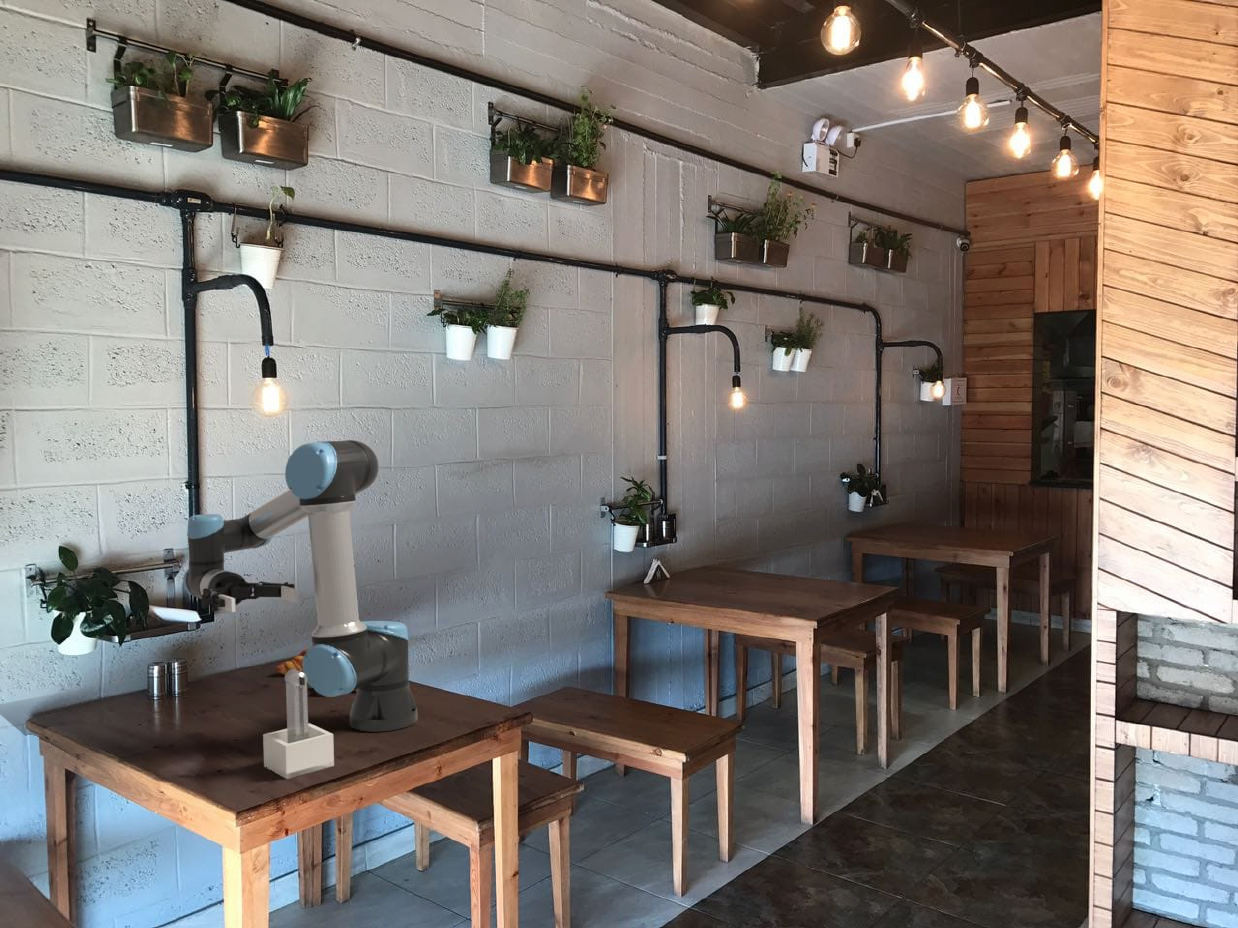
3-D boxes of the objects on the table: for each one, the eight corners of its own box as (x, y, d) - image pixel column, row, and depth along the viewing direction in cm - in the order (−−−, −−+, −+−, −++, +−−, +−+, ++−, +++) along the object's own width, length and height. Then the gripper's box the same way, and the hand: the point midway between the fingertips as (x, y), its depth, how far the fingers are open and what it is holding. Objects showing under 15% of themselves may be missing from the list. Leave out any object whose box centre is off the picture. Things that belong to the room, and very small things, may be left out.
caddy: (310, 753, 207) (309, 723, 207) (334, 765, 200) (333, 733, 200) (264, 766, 200) (263, 734, 200) (286, 778, 193) (285, 745, 193)
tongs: (301, 756, 203) (298, 667, 202) (312, 762, 199) (310, 672, 198) (287, 760, 201) (284, 670, 200) (298, 766, 197) (295, 675, 196)
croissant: (351, 676, 282) (347, 648, 285) (361, 666, 274) (356, 638, 277) (274, 686, 271) (270, 657, 273) (282, 676, 263) (278, 647, 266)
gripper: (278, 597, 232) (321, 609, 217) (167, 612, 215) (205, 627, 199) (277, 564, 231) (320, 575, 216) (165, 578, 214) (204, 590, 199)
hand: (265, 600), depth 208 cm, fingers open, 13 cm apart
